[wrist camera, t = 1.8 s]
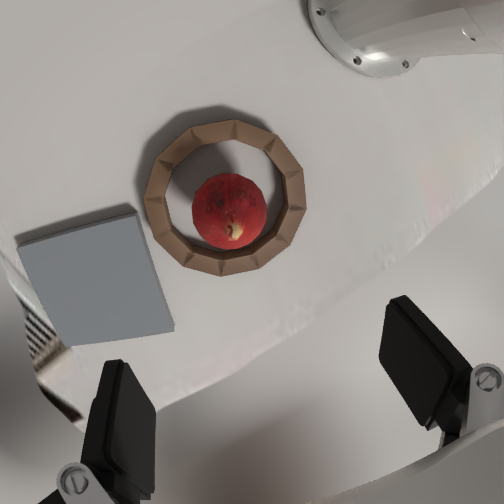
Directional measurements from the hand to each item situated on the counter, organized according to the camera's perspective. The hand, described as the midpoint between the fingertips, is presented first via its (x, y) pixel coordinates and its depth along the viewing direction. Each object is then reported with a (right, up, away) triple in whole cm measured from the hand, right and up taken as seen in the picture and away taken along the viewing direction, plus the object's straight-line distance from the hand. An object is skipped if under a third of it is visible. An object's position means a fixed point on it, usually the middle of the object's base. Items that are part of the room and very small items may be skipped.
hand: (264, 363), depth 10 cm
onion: (-3, +9, +17) cm, 19 cm away
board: (-17, 0, +18) cm, 25 cm away
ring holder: (-3, +9, +17) cm, 19 cm away
